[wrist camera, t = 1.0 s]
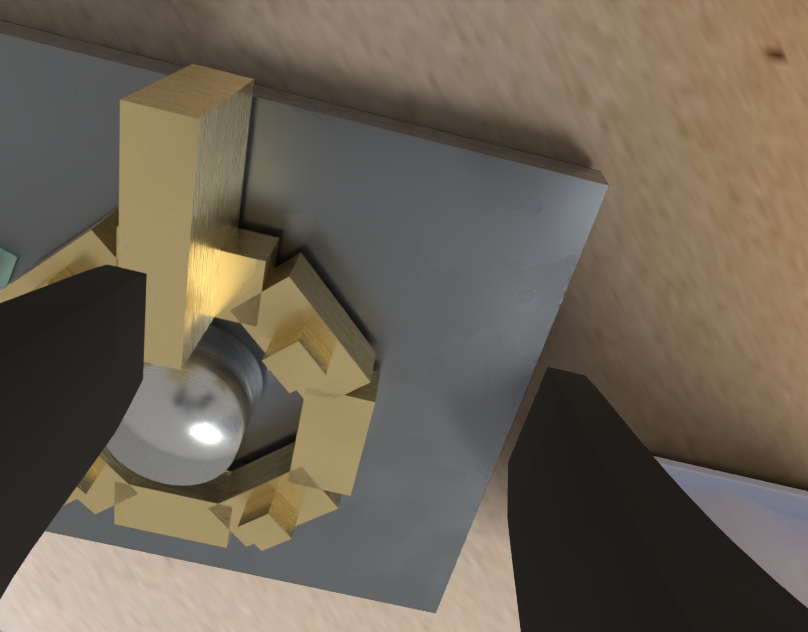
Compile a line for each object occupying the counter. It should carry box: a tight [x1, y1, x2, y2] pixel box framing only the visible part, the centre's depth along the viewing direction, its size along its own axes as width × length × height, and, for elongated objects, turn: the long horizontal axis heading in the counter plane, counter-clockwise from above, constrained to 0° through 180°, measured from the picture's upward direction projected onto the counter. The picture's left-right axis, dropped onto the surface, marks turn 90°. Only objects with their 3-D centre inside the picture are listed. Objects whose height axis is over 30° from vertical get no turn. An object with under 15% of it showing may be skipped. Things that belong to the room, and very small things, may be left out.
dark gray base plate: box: [0, 20, 609, 613], centre depth 20 cm, size 20×18×4 cm
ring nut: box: [0, 64, 380, 551], centre depth 18 cm, size 15×11×4 cm
